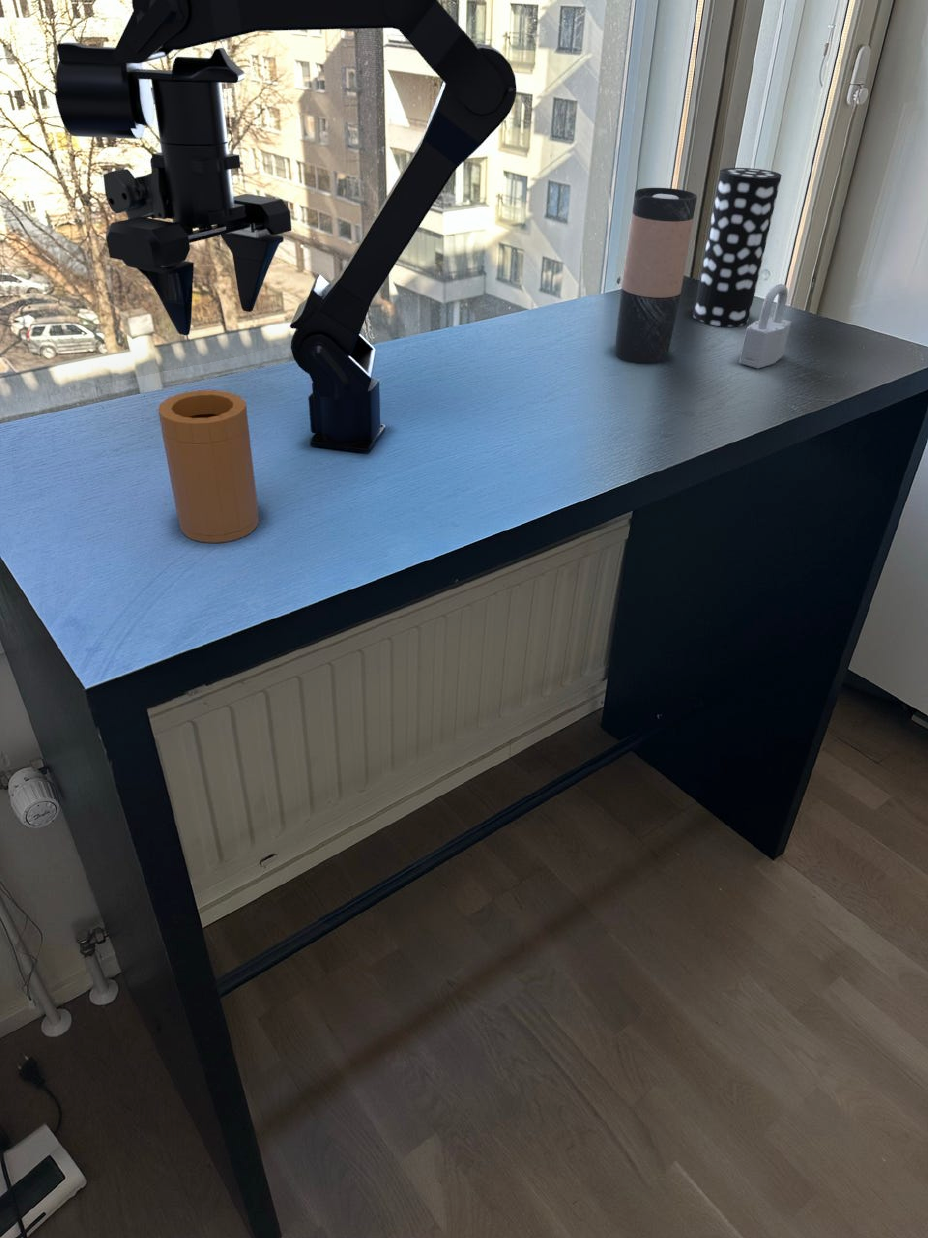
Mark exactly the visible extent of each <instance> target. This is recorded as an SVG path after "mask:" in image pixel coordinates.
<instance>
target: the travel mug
mask: <svg viewBox="0 0 928 1238" xmlns="http://www.w3.org/2000/svg"><path fill="white" fill-rule="evenodd" d="M697 198H698V196H697V194H696V193H694V192H691V191H689V190H688V191H687V190H684V189H679V188H670V187H642V188H640V189H636V190H635V192H634V199H633V206H632V212H631V213H632V214H631V219H630V226H629V232H628V239H627V247H626V253H625V260H624V266H623V273H622V279H621V289H620V296H619V304H618V305H619V306H618V312H617V313H618V315H617V322H616V323H617V324H616V331H615V332H616V334H615V342H614V344H615V345H614V355H615V356H616V357H617V358H618V359H621V360H623V361H625V362H628V363H634V364H640V365H655V364H660V363H663V362H664V361H666V360H667V359H668V355H669V351H670V347H671V342H672V336H673V332H674V328H675V323H676V319H677V312H678V307H679V303H680V299H681V294H682V289H683V282H684V277H685V270H686V265H687V259H688V252H689V248H690V247H689V246H690V240H691V234H692V229H693V223H694V216H695V210H696V205H697V201H698V199H697Z"/></svg>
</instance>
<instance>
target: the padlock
mask: <svg viewBox="0 0 928 1238" xmlns="http://www.w3.org/2000/svg"><path fill="white" fill-rule="evenodd" d="M788 295H789V291H788V288H787V286H786V284H782V283H778V284H776V285H774V286H772V287H771V288H770V289H769V290H768V292H767V293H766V295H765V297H764V299H763V303H762V307H761V310H760V314H759V318H758V320H755V321H754V322H752V323H751V324H750V325H748V326H747V327H746V330H745V335H744V339H743V343H742V347H741V351H740V356H739V361H738V364H740V365H745V366H748V367H752V368H755V369H757V370H759V369H761V368H765V367H768V366H771V365H774V364H776V363H777V362H778V361H779V360H781V359H782V358H783V357H784V352H785V348H786V344H787V340H788V337H789V333H790V329H791V324H792V321H790V320H785V319H783V317H784V313H785V309H786V305H787V301H788ZM776 297H777V302H776V305H775V310H774V314H773V316H770V314H771V310H772V306H773V304H774V301H775V299H776Z"/></svg>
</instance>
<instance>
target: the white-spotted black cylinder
mask: <svg viewBox="0 0 928 1238" xmlns="http://www.w3.org/2000/svg"><path fill="white" fill-rule="evenodd" d="M782 176H783V175H782V174H781V173H779V172H776V171H772V170H766V169H761V168H760V169H759V168H751V167H725V168H722V169H720V171H719V176H718V179H717V187H716V190H715V197H714V202H713V207H712V212H711V217H710V222H709V228H708V233H707V238H706V243H705V248H704V254H703V255H704V256H703V259H702V265H701V270H700V274H699V280H698V286H697V292H696V296H695V301H694V307H693V311H692V317H693V318H694V319H695V320H696V321H699V322H700V323H703V324H707V325H711V326H716V327H725V328H726V327H727V328H728V327H729V328H730V327H732V328H733V327H741V326H746V325H747V324H748V323H749V321H750V320H749V319H750V316H751V311H752V307H753V303H754V298H755V294H756V290H757V284H758V280H759V276H760V272H761V267H762V262H763V258H764V254H765V249H766V245H767V241H768V237H769V233H770V228H771V225H772V224H771V223H772V219H773V215H774V210H775V207H776V202H777V197H778V193H779V189H780V185H781V179H782Z"/></svg>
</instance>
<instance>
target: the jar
mask: <svg viewBox="0 0 928 1238" xmlns="http://www.w3.org/2000/svg"><path fill="white" fill-rule="evenodd" d="M157 412H158V416H159V417H158V418H159V423H160V427H161V433H162V439H163V443H164V444H163V445H164V450H165V456H166V462H167V466H168V473H169V478H170V483H171V489H172V494H173V499H174V506H175V511H176V515H177V521H178V523H179V529H180V531H181V533H182V534H183V535H184V536H185V537H187V538H189V539H190V540H193V541H196V542H201V543H207V544H220V543H228V542H233V541H236V540H239V539H243V538H244V537H246V536H248V535H249V534H252V533H253V531H255V530H256V529H257V528H258V525H259V523H260V518H259V517H260V516H259V505H258V496H257V488H256V480H255V478H256V477H255V470H254V462H253V455H252V454H253V453H252V446H251V437H250V428H249V419H248V410H247V403H246V401H245V400H244V399H243V398H242V397H241V396H240V395H238V394H235V393H232V392H229V391H224V390H217V389H207V390H205V389H203V390H192V391H187V392H182V393H179V394H175V395H173V396H170V397H168V398H166V399H165V400H164V401H162V402H161V403H160V404H159V406H158V411H157Z"/></svg>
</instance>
